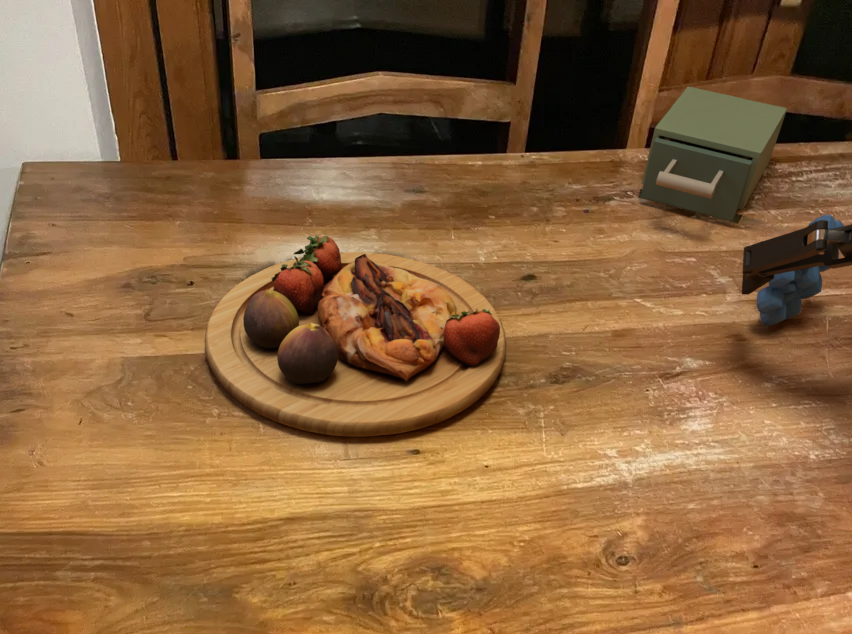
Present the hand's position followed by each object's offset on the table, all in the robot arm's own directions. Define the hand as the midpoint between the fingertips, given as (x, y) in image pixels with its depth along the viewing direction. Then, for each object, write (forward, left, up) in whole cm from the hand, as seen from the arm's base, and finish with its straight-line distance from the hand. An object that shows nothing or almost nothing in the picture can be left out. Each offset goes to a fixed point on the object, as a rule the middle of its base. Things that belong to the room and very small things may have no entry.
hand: (808, 284), depth 101 cm
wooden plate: (+41, +26, -7) cm, 49 cm away
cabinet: (+18, -31, -6) cm, 36 cm away
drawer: (+18, -25, -5) cm, 31 cm away
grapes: (+2, -3, -7) cm, 8 cm away
